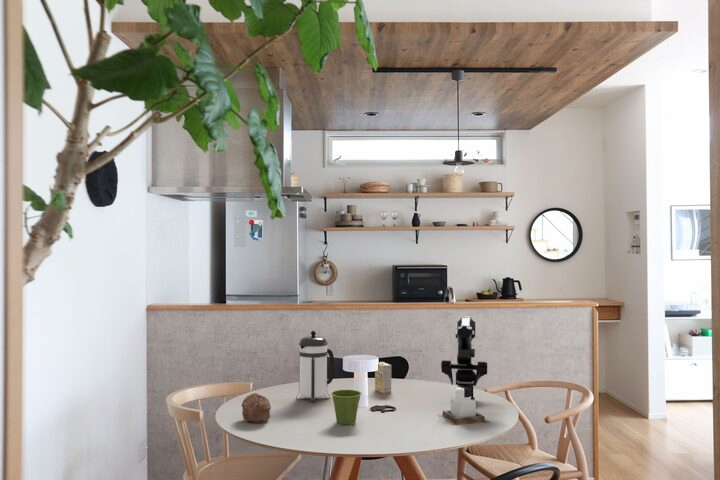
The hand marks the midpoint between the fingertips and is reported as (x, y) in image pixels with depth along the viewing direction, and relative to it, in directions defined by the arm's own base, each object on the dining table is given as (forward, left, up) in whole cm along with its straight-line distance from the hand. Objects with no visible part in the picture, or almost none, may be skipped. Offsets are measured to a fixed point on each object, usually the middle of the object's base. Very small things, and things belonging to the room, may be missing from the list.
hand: (463, 384), depth 255 cm
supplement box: (+21, -44, -12) cm, 50 cm away
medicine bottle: (+3, +7, -12) cm, 14 cm away
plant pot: (+49, +2, -12) cm, 51 cm away
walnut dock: (+3, +7, -12) cm, 14 cm away
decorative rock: (+82, -9, -12) cm, 83 cm away
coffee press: (+54, -39, -12) cm, 68 cm away
